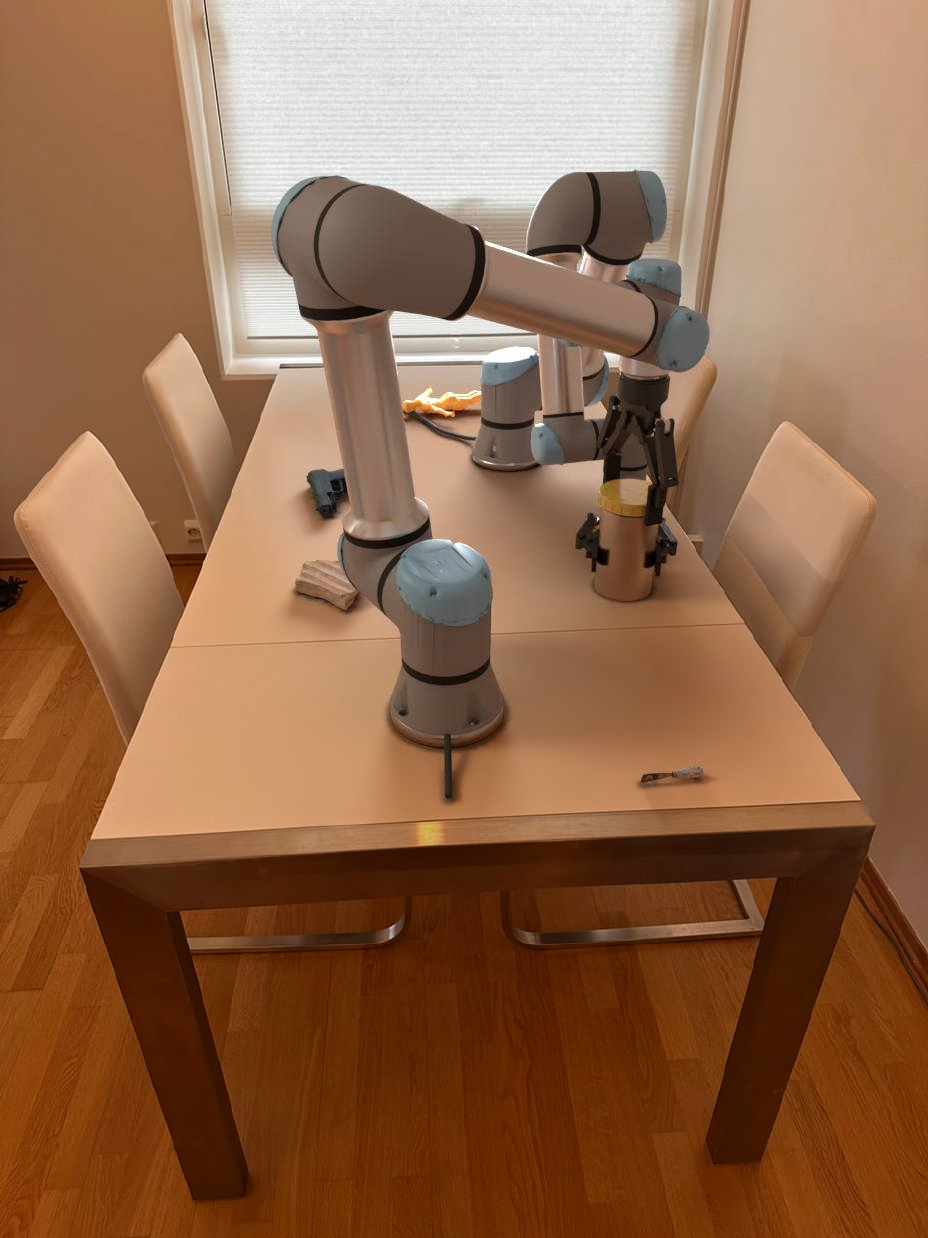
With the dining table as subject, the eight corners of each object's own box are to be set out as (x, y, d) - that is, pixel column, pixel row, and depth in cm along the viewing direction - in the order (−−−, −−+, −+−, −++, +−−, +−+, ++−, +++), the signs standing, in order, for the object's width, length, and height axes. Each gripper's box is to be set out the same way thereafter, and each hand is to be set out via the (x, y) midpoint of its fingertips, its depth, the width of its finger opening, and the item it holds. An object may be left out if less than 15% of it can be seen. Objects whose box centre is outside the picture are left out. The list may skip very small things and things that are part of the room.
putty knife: (703, 777, 109) (705, 767, 109) (642, 788, 108) (644, 777, 107) (700, 772, 110) (702, 762, 109) (639, 782, 109) (640, 771, 108)
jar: (589, 596, 147) (596, 503, 138) (600, 569, 155) (607, 480, 146) (646, 605, 145) (657, 511, 136) (654, 577, 152) (665, 487, 143)
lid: (678, 509, 139) (679, 498, 138) (621, 521, 136) (622, 510, 135) (640, 485, 147) (641, 474, 146) (586, 496, 144) (586, 484, 143)
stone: (382, 577, 152) (381, 564, 151) (347, 611, 143) (346, 598, 142) (316, 564, 157) (314, 551, 155) (279, 596, 147) (277, 583, 146)
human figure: (395, 413, 223) (394, 398, 221) (438, 390, 237) (438, 375, 235) (462, 429, 215) (462, 413, 213) (502, 404, 229) (503, 388, 227)
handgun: (377, 512, 175) (316, 519, 172) (362, 476, 189) (305, 483, 186) (376, 497, 173) (315, 504, 171) (361, 462, 187) (303, 469, 185)
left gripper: (717, 392, 123) (696, 534, 134) (621, 349, 141) (610, 477, 153) (671, 400, 120) (654, 544, 132) (580, 355, 138) (572, 485, 150)
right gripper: (685, 530, 162) (693, 592, 143) (563, 523, 165) (555, 582, 146) (690, 492, 158) (699, 550, 139) (565, 485, 161) (558, 541, 142)
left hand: (630, 508), depth 142 cm, fingers open, 12 cm apart
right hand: (626, 566), depth 143 cm, fingers closed on jar, 9 cm apart
